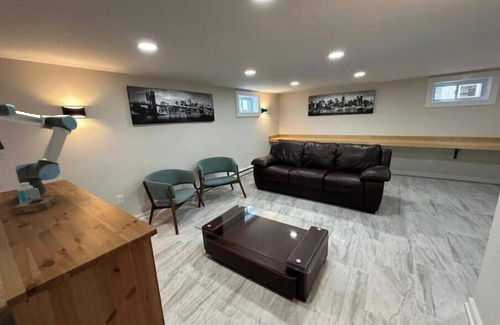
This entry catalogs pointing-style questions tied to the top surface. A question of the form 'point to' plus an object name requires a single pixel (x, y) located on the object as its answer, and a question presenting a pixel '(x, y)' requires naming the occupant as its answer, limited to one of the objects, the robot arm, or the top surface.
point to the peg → (34, 195)
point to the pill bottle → (24, 192)
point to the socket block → (35, 205)
